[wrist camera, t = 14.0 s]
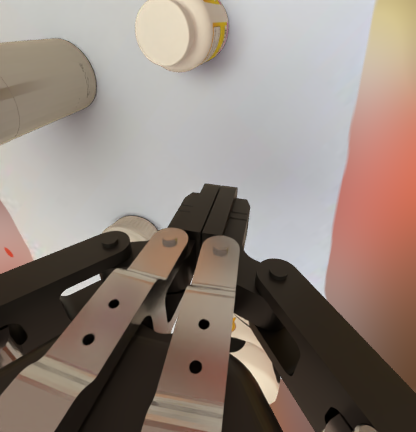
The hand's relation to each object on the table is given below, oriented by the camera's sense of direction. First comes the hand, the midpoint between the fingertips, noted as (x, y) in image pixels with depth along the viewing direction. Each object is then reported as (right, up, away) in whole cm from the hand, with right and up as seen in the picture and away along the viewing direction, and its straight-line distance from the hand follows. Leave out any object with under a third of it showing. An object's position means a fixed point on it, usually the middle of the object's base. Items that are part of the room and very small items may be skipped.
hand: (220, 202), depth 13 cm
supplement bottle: (-1, +21, +19) cm, 29 cm away
